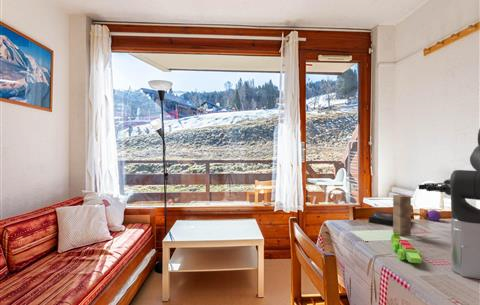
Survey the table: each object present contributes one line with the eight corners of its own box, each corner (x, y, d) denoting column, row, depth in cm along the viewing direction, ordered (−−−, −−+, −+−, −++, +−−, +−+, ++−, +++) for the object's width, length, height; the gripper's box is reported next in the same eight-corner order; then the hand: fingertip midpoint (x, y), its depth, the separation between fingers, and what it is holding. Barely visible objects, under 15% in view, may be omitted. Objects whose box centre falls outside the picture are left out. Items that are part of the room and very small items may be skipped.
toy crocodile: (426, 269, 88) (426, 251, 88) (404, 266, 90) (404, 249, 90) (406, 247, 107) (406, 233, 107) (388, 246, 109) (388, 231, 109)
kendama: (400, 208, 161) (441, 210, 147) (400, 217, 160) (441, 221, 146) (397, 207, 157) (439, 210, 143) (398, 218, 156) (440, 221, 142)
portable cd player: (376, 217, 155) (376, 210, 155) (410, 222, 144) (410, 215, 144) (368, 223, 142) (368, 216, 142) (405, 230, 131) (405, 222, 131)
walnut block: (403, 232, 125) (404, 194, 124) (411, 236, 120) (411, 196, 119) (393, 232, 124) (393, 195, 124) (400, 236, 119) (400, 197, 119)
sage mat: (401, 230, 129) (401, 229, 129) (422, 240, 115) (422, 239, 115) (349, 231, 128) (349, 230, 128) (364, 241, 114) (364, 240, 114)
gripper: (445, 177, 130) (412, 178, 129) (472, 181, 116) (435, 181, 115) (445, 192, 130) (412, 193, 129) (472, 198, 116) (435, 198, 115)
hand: (423, 187), depth 122 cm, fingers open, 4 cm apart
